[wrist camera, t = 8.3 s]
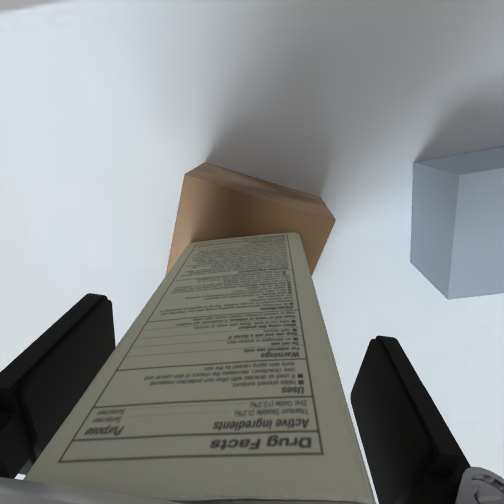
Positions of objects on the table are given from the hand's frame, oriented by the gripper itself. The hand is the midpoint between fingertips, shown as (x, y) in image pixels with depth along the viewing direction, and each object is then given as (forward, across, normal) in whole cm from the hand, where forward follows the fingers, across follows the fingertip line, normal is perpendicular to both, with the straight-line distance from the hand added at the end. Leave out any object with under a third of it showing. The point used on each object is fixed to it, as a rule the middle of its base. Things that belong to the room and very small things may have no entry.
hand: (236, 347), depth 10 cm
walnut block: (+11, +1, 0) cm, 11 cm away
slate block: (+12, -14, -4) cm, 18 cm away
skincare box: (+7, 0, 0) cm, 7 cm away
